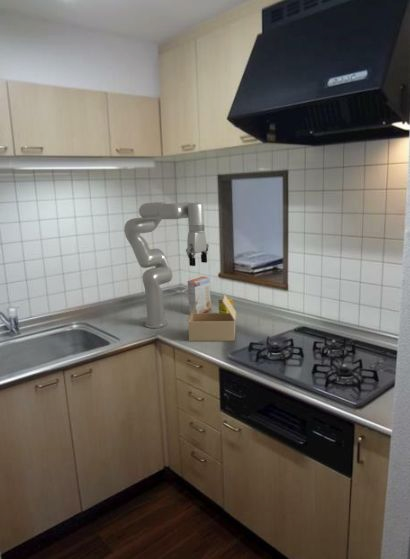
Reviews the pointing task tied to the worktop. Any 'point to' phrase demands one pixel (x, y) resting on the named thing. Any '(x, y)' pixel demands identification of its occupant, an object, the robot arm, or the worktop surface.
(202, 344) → the worktop surface
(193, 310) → the flap
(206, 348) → the worktop surface
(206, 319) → the carton
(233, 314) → the flap
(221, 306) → the supplement box
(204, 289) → the cracker box
